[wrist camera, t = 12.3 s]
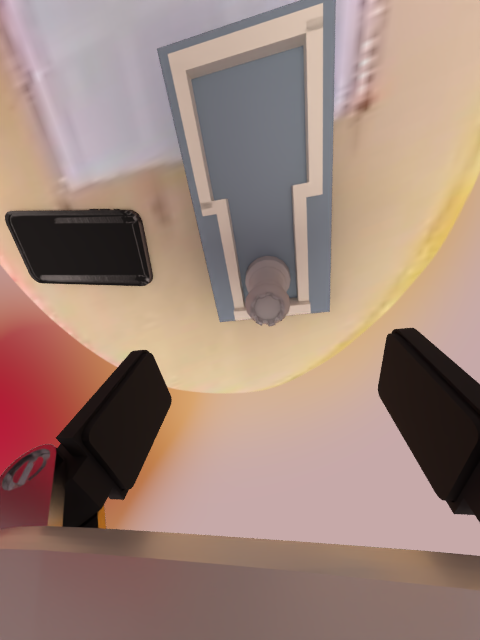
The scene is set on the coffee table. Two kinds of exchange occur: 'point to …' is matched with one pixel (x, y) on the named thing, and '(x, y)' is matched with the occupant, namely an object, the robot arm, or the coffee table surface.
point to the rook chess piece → (267, 290)
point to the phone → (82, 246)
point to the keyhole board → (260, 147)
